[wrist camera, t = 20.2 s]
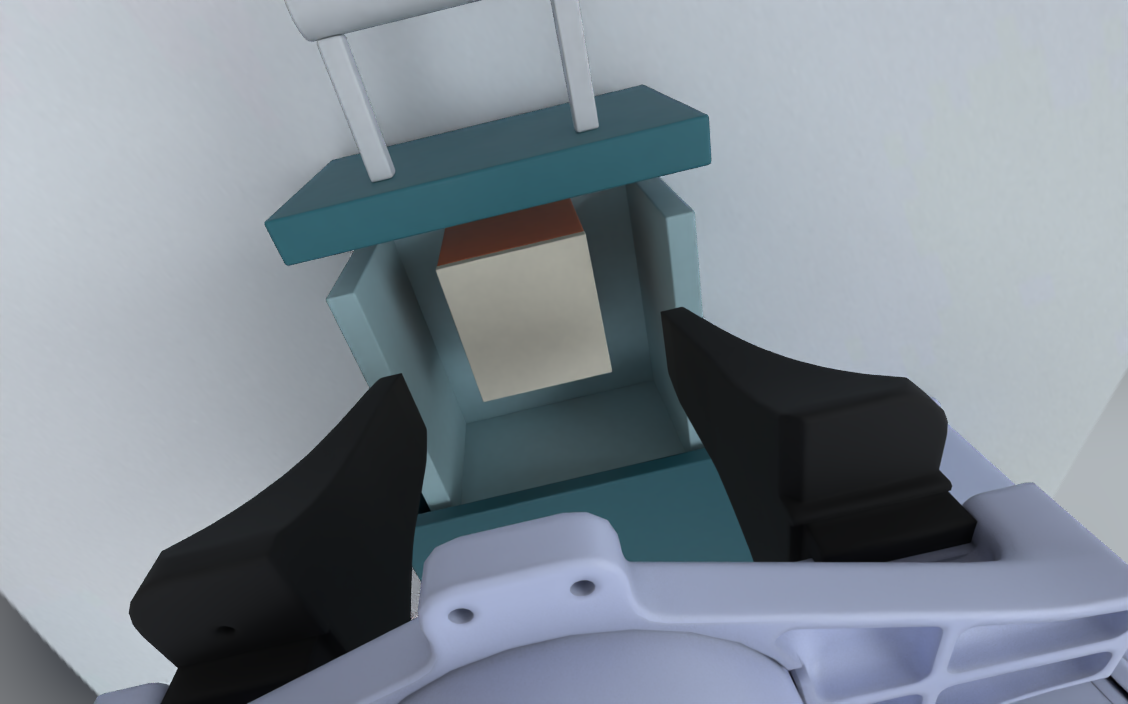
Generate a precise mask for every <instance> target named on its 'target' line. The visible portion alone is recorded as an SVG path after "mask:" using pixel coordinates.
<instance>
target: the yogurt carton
mask: <svg viewBox="0 0 1128 704" xmlns="http://www.w3.org/2000/svg"><path fill="white" fill-rule="evenodd" d="M436 273H437V276H438V278H439V281H440V284H441V287H442V289H443V292H444V295H445V298H446V300H447V303H448V306H449V309H450V312H451V314H452V317H453V320H454V323H455V325H456V328H457V331H458V334H459V336H460V339H461V342H462V345H463V347H464V350H465V353H466V356H467V358H468V361H469V364H470V367H471V369H472V372H473V375H474V378H475V380H476V383H477V386H478V389H479V391H480V394H481V397H482V400H483V402H487V401H491V400H495V399H499V398H504V397H508V396H512V395H516V394H521V393H525V392H529V391H533V390H537V389H542V388H546V387H550V386H554V385H559V384H563V383H567V382H571V381H576V380H580V379H584V378H588V377H593V376H597V375H601V374H605V373H610V372H612V367H611V362H610V357H609V352H608V347H607V342H606V336H605V331H604V326H603V321H602V316H601V310H600V305H599V300H598V295H597V290H596V285H595V279H594V274H593V269H592V264H591V259H590V253H589V248H588V243H587V238H586V234H585V232H584V230H583V227H582V225H581V223H580V220H579V218H578V215H577V213H576V211H575V208H574V206H573V204H572V201H571V199H570V198H569V199H565V200H560V201H556V202H552V203H548V204H544V205H540V206H535V207H531V208H527V209H523V210H519V211H515V212H510V213H506V214H502V215H498V216H494V217H490V218H486V219H481V220H477V221H473V222H469V223H465V224H461V225H456V226H452V227H448V228H445V232H444V236H443V241H442V245H441V250H440V255H439V259H438V264H437V267H436Z"/></svg>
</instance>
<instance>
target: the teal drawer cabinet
mask: <svg viewBox="0 0 1128 704" xmlns="http://www.w3.org/2000/svg"><path fill="white" fill-rule="evenodd" d="M572 512H588V513H590V514H593V515H596V516H598V517H601V518H603V519H606V520H608V521H609V523H610V524H611V526H612V527H613V528H614V530H615V531H616V533H617V534H618V538H619V542H620V546H621V550H622V553H623V555H624V557H625V559H626V560H627V561H629V562H754V561H753V558H752V556H751V553H750V550H749V548H748V545H747V542H746V540H745V537H744V535H743V532H742V530H741V527H740V525H739V522H738V520H737V517H736V515H735V512H734V510H733V507H732V505H731V502H730V500H729V497H728V495H727V493H726V490H725V488H724V485H723V483H722V481H721V478H720V476H719V474H718V472H717V470H716V468H715V466H714V464H713V462H712V460H711V458H710V456H709V454H708V453H707V451H706V449H705V448H701V449H697V450H693V451H688V452H684V453H680V454H676V455H671V456H667V457H663V458H658V459H654V460H650V461H646V462H641V463H637V464H633V465H628V466H624V467H620V468H616V469H611V470H607V471H603V472H598V473H594V474H590V475H585V476H581V477H577V478H573V479H568V480H564V481H560V482H555V483H551V484H547V485H543V486H538V487H534V488H530V489H525V490H521V491H517V492H512V493H508V494H504V495H500V496H495V497H491V498H487V499H482V500H478V501H474V502H470V503H465V504H461V505H457V506H452V507H448V508H444V509H440V510H435V511H431V510H430V508H429V506H428V504H427V502H426V500H425V498H424V496H423V494H422V493H421V499H420V504H419V510H418V516H417V522H416V527H415V535H414V543H413V559H412V567H413V569H414V571H415V572H416V574H417V576H418V578H419V579H420V581H421V582H422V574H423V566H424V562H425V560H426V559H427V558H428V556H429V555H430V554H431V552H432V551H433V550H434V548H435V547H437V546H439V545H442V544H444V543H446V542H448V541H451V540H453V539H455V538H457V537H460V536H465V535H469V534H473V533H478V532H482V531H486V530H491V529H495V528H499V527H504V526H508V525H512V524H517V523H521V522H525V521H530V520H534V519H538V518H543V517H547V516H551V515H556V514H560V513H572Z"/></svg>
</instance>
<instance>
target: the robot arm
mask: <svg viewBox="0 0 1128 704" xmlns="http://www.w3.org/2000/svg"><path fill="white" fill-rule="evenodd" d="M660 313H661V321H662V328H663V336H664V344H665V352H666V360H667V368H668V374H669V377H670V379H671V382H672V385H673V387H674V390H675V392H676V395H677V397H678V400H679V402H680V404H681V406H682V408H683V410H684V411H685V413H686V415H687V417H688V419H689V420H690V422H691V424H692V426H693V428H694V429H695V431H696V433H697V435H698V436H699V438H700V440H701V442H702V444H703V445H704V447H705V449H706V451H707V453H708V454H709V456H710V458H711V460H712V462H713V464H714V466H715V468H716V470H717V472H718V474H719V476H720V478H721V481H722V483H723V485H724V488H725V490H726V493H727V495H728V497H729V500H730V502H731V505H732V507H733V510H734V512H735V515H736V517H737V520H738V522H739V525H740V527H741V530H742V532H743V535H744V537H745V540H746V542H747V545H748V548H749V550H750V553H751V556H752V558H753V561H754V562H629V561H627V560H626V559H625V557H624V555H623V553H622V550H621V546H620V542H619V538H618V534H617V533H616V531H615V530H614V528H613V527H612V526H611V524H610V523H609V521H608V520H606V519H603V518H601V517H598V516H596V515H593V514H590V513H588V512H572V513H560V514H556V515H551V516H547V517H543V518H538V519H534V520H530V521H525V522H521V523H517V524H512V525H508V526H504V527H499V528H495V529H491V530H486V531H482V532H478V533H473V534H469V535H465V536H460V537H457V538H455V539H453V540H451V541H448V542H446V543H444V544H442V545H439V546H437V547H435V548H434V550H433V551H432V552H431V554H430V555H429V556H428V558H427V559H426V560H425V562H424V566H423V574H422V582H421V590H420V597H419V605H418V617H417V618H415V619H413V620H411V580H412V559H413V543H414V535H415V527H416V522H417V516H418V510H419V504H420V499H421V493H422V487H423V481H424V475H425V469H426V462H427V428H426V426H425V423H424V421H423V419H422V417H421V415H420V412H419V410H418V408H417V406H416V403H415V401H414V399H413V397H412V395H411V392H410V390H409V388H408V386H407V383H406V381H405V379H404V377H403V375H402V373H399V374H395V375H391V376H386V377H382V378H380V379H379V380H377V381H376V382H375V383H374V384H373V385H372V387H371V388H370V389H369V390H368V391H367V392H366V393H365V394H364V395H363V397H362V398H361V399H360V400H359V401H358V402H357V403H356V405H355V406H354V407H353V408H352V409H351V410H350V411H349V412H348V413H347V415H346V416H345V417H344V418H343V419H342V420H341V421H340V422H339V424H338V425H337V426H336V427H335V428H334V429H333V430H332V431H331V432H330V433H329V434H328V435H327V436H326V437H325V438H324V439H323V440H322V441H321V442H320V443H319V444H318V445H317V446H316V447H315V448H314V449H313V450H312V451H311V452H310V453H309V454H308V455H307V456H305V457H304V458H303V459H302V460H301V461H300V462H299V463H297V464H296V465H295V466H294V467H293V468H292V469H290V470H289V471H288V472H287V473H286V474H284V475H283V476H282V477H281V478H279V479H278V480H277V481H275V482H274V483H273V484H271V485H270V486H269V487H267V488H266V489H264V490H263V491H262V492H260V493H259V494H258V495H256V496H255V497H254V498H252V499H251V500H249V501H248V502H246V503H245V504H243V505H242V506H240V507H239V508H237V509H236V510H234V511H233V512H231V513H229V514H228V515H226V516H225V517H223V518H221V519H220V520H218V521H216V522H215V523H213V524H211V525H210V526H208V527H206V528H204V529H203V530H201V531H199V532H197V533H195V534H193V535H192V536H190V537H188V538H186V539H184V540H182V541H180V542H179V543H177V544H175V545H173V546H171V547H169V548H167V549H165V550H163V551H162V552H161V553H160V555H159V557H158V558H157V560H156V561H155V563H154V565H153V566H152V568H151V570H150V571H149V573H148V574H147V576H146V578H145V579H144V581H143V583H142V584H141V586H140V588H139V589H138V591H137V592H136V594H135V596H134V597H133V599H132V601H131V602H130V609H129V615H130V618H131V620H132V623H133V625H134V627H135V628H136V629H137V630H138V632H139V633H140V634H141V635H142V636H143V637H144V638H145V639H146V640H147V641H148V642H149V643H150V644H152V645H153V646H154V647H155V648H156V649H157V650H158V651H159V652H161V653H162V654H163V655H164V656H165V657H166V658H167V659H168V660H170V661H171V662H172V663H173V664H174V665H175V666H176V667H177V668H178V669H177V671H176V673H175V675H174V677H173V679H172V682H171V684H170V686H169V685H167V684H162V683H148V684H143V685H139V686H135V687H130V688H126V689H122V690H117V691H113V692H108V693H104V694H102V695H100V696H98V697H97V699H96V701H95V702H94V704H1128V564H1127V563H1126V562H1124V561H1123V560H1122V559H1121V558H1120V557H1119V556H1118V555H1116V554H1115V553H1114V552H1113V551H1112V550H1111V549H1109V548H1108V547H1107V546H1106V545H1105V544H1104V543H1103V542H1101V541H1100V540H1099V539H1098V538H1097V537H1096V536H1095V535H1093V534H1092V533H1091V532H1090V531H1089V530H1087V529H1086V528H1085V527H1084V526H1083V525H1082V524H1081V523H1080V522H1078V521H1077V520H1076V519H1075V518H1074V517H1073V516H1071V515H1070V514H1069V513H1068V512H1067V511H1066V510H1064V509H1063V508H1062V507H1061V506H1060V505H1059V504H1057V503H1056V502H1055V501H1054V500H1053V499H1052V498H1051V497H1050V496H1048V495H1047V494H1046V493H1045V492H1044V491H1043V490H1041V489H1040V488H1039V487H1038V486H1037V485H1036V484H1034V483H1022V484H1018V485H1015V484H1014V483H1013V482H1012V481H1011V480H1010V479H1009V478H1008V477H1006V476H1005V475H1004V474H1003V473H1002V472H1001V471H1000V470H999V469H998V468H996V467H995V466H994V465H993V464H992V463H991V462H990V461H989V460H988V459H986V458H985V457H984V456H983V455H982V454H981V453H980V452H979V451H978V450H976V449H975V448H974V447H973V446H972V445H971V444H970V443H969V442H968V441H966V440H965V439H964V438H963V437H962V436H961V435H960V434H959V433H958V432H956V431H955V430H954V429H953V428H952V427H951V426H950V425H949V424H948V421H947V418H946V415H945V412H944V410H943V409H942V408H941V404H940V402H939V401H937V400H936V399H935V398H930V397H929V396H928V395H927V394H926V393H925V392H923V391H922V390H921V389H920V388H919V387H918V386H916V385H915V384H914V383H913V382H911V381H910V380H909V379H907V378H905V377H893V376H881V375H870V374H861V373H854V372H848V371H842V370H836V369H831V368H826V367H821V366H817V365H813V364H809V363H805V362H801V361H797V360H794V359H791V358H787V357H784V356H781V355H779V354H776V353H773V352H770V351H767V350H765V349H762V348H760V347H757V346H755V345H753V344H751V343H748V342H746V341H744V340H742V339H740V338H738V337H736V336H734V335H732V334H730V333H728V332H726V331H724V330H722V329H720V328H719V327H717V326H715V325H713V324H712V323H710V322H708V321H706V320H705V319H703V318H701V317H700V316H698V315H696V314H695V313H693V312H691V311H690V310H688V309H686V308H684V307H678V308H674V309H670V310H666V311H661V312H660Z"/></svg>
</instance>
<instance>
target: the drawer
mask: <svg viewBox="0 0 1128 704" xmlns="http://www.w3.org/2000/svg"><path fill="white" fill-rule="evenodd" d="M284 1H285V4H286V6H287V9H288V11H289V13H290V15H291V17H292V19H293V21H294V23H295V25H296V27H297V28H298V30H299V31H300V33H301V34H302V35H303V37H304V38H305V39H306V40H308V41H311V42H314V41H317V46H318V49H319V51H320V54H321V56H322V59H323V61H324V64H325V66H326V69H327V71H328V74H329V76H330V79H331V81H332V84H333V86H334V89H335V92H336V94H337V97H338V99H339V102H340V104H341V107H342V109H343V112H344V114H345V117H346V119H347V122H348V124H349V127H350V129H351V132H352V135H353V137H354V140H355V142H356V145H357V147H358V150H359V152H360V154H355V155H351V156H347V157H343V158H339V159H335V160H332V161H331V162H330V163H328V164H327V165H326V166H325V167H324V168H323V169H322V170H321V171H320V172H319V173H318V174H316V175H315V176H314V177H313V178H312V179H311V180H310V181H309V182H308V183H307V184H306V185H304V186H303V187H302V188H301V189H300V190H299V191H298V192H297V193H296V194H295V195H294V196H292V197H291V198H290V199H289V200H288V201H287V202H286V203H285V204H284V205H283V206H282V207H281V208H279V209H278V210H277V211H276V212H275V213H274V214H273V215H272V216H271V217H270V218H269V219H267V220H266V221H265V227H266V229H267V231H268V232H269V234H270V236H271V238H272V240H273V242H274V244H275V246H276V248H277V250H278V252H279V253H280V255H281V257H282V259H283V261H284V263H285V264H286V265H288V266H290V265H294V264H298V263H303V262H307V261H311V260H315V259H319V258H323V257H327V256H332V255H336V254H340V253H344V252H348V251H352V250H354V252H353V254H352V255H351V257H350V259H349V260H348V262H347V264H346V266H345V267H344V269H343V271H342V272H341V274H340V276H339V278H338V279H337V281H336V283H335V285H334V286H333V288H332V290H331V291H330V293H329V295H328V297H327V298H326V301H327V303H328V305H329V307H330V309H331V311H332V313H333V315H334V318H335V320H336V322H337V324H338V326H339V328H340V330H341V332H342V334H343V336H344V338H345V340H346V342H347V344H348V346H349V348H350V350H351V352H352V354H353V356H354V358H355V360H356V362H357V364H358V366H359V368H360V370H361V372H362V374H363V376H364V378H365V380H366V382H367V384H368V386H369V388H371V387H372V385H373V384H374V383H375V382H376V381H377V380H379V379H380V378H382V377H386V376H391V375H395V374H399V373H402V375H403V377H404V379H405V381H406V383H407V386H408V388H409V390H410V392H411V395H412V397H413V399H414V401H415V403H416V406H417V408H418V410H419V412H420V415H421V417H422V419H423V421H424V423H425V426H426V428H427V462H426V469H425V475H424V481H423V487H422V494H423V496H424V498H425V500H426V502H427V504H428V506H429V508H430V510H431V511H435V510H440V509H444V508H448V507H452V506H457V505H461V504H465V503H470V502H474V501H478V500H482V499H487V498H491V497H495V496H500V495H504V494H508V493H512V492H517V491H521V490H525V489H530V488H534V487H538V486H543V485H547V484H551V483H555V482H560V481H564V480H568V479H573V478H577V477H581V476H585V475H590V474H594V473H598V472H603V471H607V470H611V469H616V468H620V467H624V466H628V465H633V464H637V463H641V462H646V461H650V460H654V459H658V458H663V457H667V456H671V455H676V454H680V453H684V452H688V451H693V450H697V449H701V448H705V447H704V445H703V444H702V442H701V440H700V438H699V436H698V435H697V433H696V431H695V429H694V428H693V426H692V424H691V422H690V420H689V419H688V417H687V415H686V413H685V411H684V410H683V408H682V406H681V404H680V402H679V400H678V397H677V395H676V392H675V390H674V387H673V385H672V382H671V379H670V377H669V374H668V368H667V360H666V352H665V344H664V336H663V328H662V321H661V313H660V312H661V311H666V310H670V309H674V308H678V307H684V308H686V309H688V310H690V311H691V312H693V313H695V314H696V315H698V316H700V317H701V318H703V314H702V301H701V288H700V275H699V262H698V249H697V236H696V223H695V212H694V211H693V210H692V209H691V208H690V207H689V206H688V205H687V204H686V203H685V202H684V201H683V200H682V199H681V198H680V197H679V196H678V195H677V194H676V193H675V192H674V191H673V190H672V189H671V188H670V187H669V186H668V185H667V184H666V183H665V182H664V181H663V180H662V179H661V178H660V176H664V175H668V174H673V173H677V172H681V171H685V170H689V169H693V168H698V167H702V166H706V165H709V164H711V144H710V127H709V117H708V115H707V114H705V113H702V112H700V111H698V110H696V109H694V108H692V107H690V106H688V105H685V104H683V103H681V102H679V101H677V100H675V99H673V98H671V97H668V96H666V95H664V94H662V93H660V92H658V91H656V90H654V89H651V88H649V87H647V86H645V85H639V86H635V87H631V88H627V89H623V90H619V91H615V92H611V93H606V94H602V95H598V96H594V92H593V86H592V80H591V74H590V67H589V61H588V55H587V49H586V42H585V36H584V30H583V24H582V18H581V11H580V5H579V0H550V1H551V6H552V11H553V17H554V22H555V28H556V33H557V38H558V44H559V49H560V55H561V60H562V66H563V71H564V76H565V82H566V87H567V93H568V98H569V103H565V104H561V105H557V106H553V107H549V108H545V109H541V110H537V111H532V112H528V113H524V114H520V115H516V116H512V117H508V118H504V119H499V120H495V121H491V122H487V123H483V124H479V125H475V126H471V127H467V128H462V129H458V130H454V131H450V132H446V133H442V134H438V135H434V136H430V137H425V138H421V139H417V140H413V141H409V142H405V143H401V144H397V145H393V146H388V147H387V146H386V143H385V141H384V138H383V135H382V133H381V130H380V127H379V124H378V122H377V119H376V116H375V114H374V111H373V108H372V105H371V103H370V100H369V97H368V94H367V92H366V89H365V86H364V84H363V81H362V78H361V75H360V73H359V70H358V67H357V65H356V62H355V59H354V56H353V54H352V51H351V48H350V45H349V43H348V40H347V37H346V36H345V35H342V34H346V33H350V32H354V31H358V30H362V29H366V28H370V27H374V26H378V25H383V24H387V23H391V22H395V21H399V20H403V19H407V18H411V17H415V16H419V15H423V14H427V13H431V12H435V11H439V10H443V9H447V8H452V7H456V6H460V5H464V4H468V3H472V2H476V1H480V0H284ZM569 198H570V199H571V201H572V204H573V206H574V208H575V211H576V213H577V215H578V218H579V220H580V223H581V225H582V227H583V230H584V232H585V234H586V238H587V243H588V248H589V253H590V259H591V264H592V269H593V274H594V279H595V285H596V290H597V295H598V300H599V305H600V310H601V316H602V321H603V326H604V331H605V336H606V342H607V347H608V352H609V357H610V362H611V367H612V372H610V373H605V374H601V375H597V376H593V377H588V378H584V379H580V380H576V381H571V382H567V383H563V384H559V385H554V386H550V387H546V388H542V389H537V390H533V391H529V392H525V393H521V394H516V395H512V396H508V397H504V398H499V399H495V400H491V401H487V402H483V400H482V397H481V394H480V391H479V389H478V386H477V383H476V380H475V378H474V375H473V372H472V369H471V367H470V364H469V361H468V358H467V356H466V353H465V350H464V347H463V345H462V342H461V339H460V336H459V334H458V331H457V328H456V325H455V323H454V320H453V317H452V314H451V312H450V309H449V306H448V303H447V300H446V298H445V295H444V292H443V289H442V287H441V284H440V281H439V278H438V276H437V273H436V267H437V264H438V259H439V255H440V250H441V245H442V241H443V236H444V232H445V228H448V227H452V226H456V225H461V224H465V223H469V222H473V221H477V220H481V219H486V218H490V217H494V216H498V215H502V214H506V213H510V212H515V211H519V210H523V209H527V208H531V207H535V206H540V205H544V204H548V203H552V202H556V201H560V200H565V199H569Z"/></svg>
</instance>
